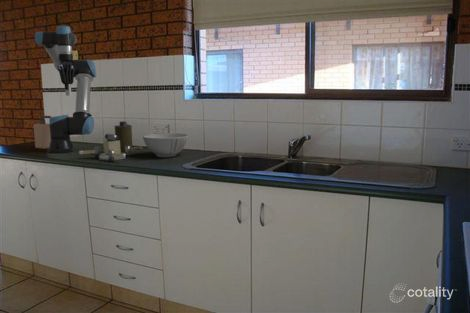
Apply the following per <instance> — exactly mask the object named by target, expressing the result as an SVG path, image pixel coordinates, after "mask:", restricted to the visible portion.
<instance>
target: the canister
mask: <svg viewBox="0 0 470 313" xmlns="http://www.w3.org/2000/svg"><path fill="white" fill-rule="evenodd" d="M132 127H133V125H132V124H131V125H130V124H128V123H127V121H124V120H123V121H119V124H118V125H114V135H117V136H118V140H120V150H121V152H124V153H125V146H126V145H130V148H133V131H132ZM130 153H131V155H133V154H134V151H130Z"/></svg>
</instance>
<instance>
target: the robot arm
mask: <svg viewBox="0 0 470 313" xmlns="http://www.w3.org/2000/svg"><path fill="white" fill-rule="evenodd" d="M34 40H35V44H36V45H38V46H43V47H44V49H45V51H46V53H47V54H48V56H49V57H50V59H51V60H52V62H53V66H54V68H55V69H56V70H57V71H58V72H59V76H60V80H61V83H62V84H63V85H64V90H65V96H67V97H68V96H69V97H72V85H73V84H74V78H75V80H76V93H75V94H76V97H75V111H74V112H73V113H72V116H69V114H63V115H57V116H51V118H48V119H49V120H48V121H49V122H48V124H49V125H50V136H51V141H50V145H49V148H48V153H50V154H63V153H65V154H66V153H71V152H74V151H75V149H74V145H73V143H72V141H71V136H85V135H86V136H87V135H91V134H92V133H93V131H94V127H95V118H94V117H93V116H92V114H91V113H90V108H91V107H90V105H91V104H90V103H91V84H92V82H93V81H94V78H96V77H97V70H96V65H95V62H94V60H92V59H73V58H74V56H73V46H74V45H75V44H76V43H77V40H78V39H77V36H76V35H75V33H73V32H72V30H71V27H70V26H69V25H57V26H56V31H43V30H42V31H36V32H35V34H34Z"/></svg>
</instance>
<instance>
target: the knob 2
mask: <svg viewBox="0 0 470 313" xmlns="http://www.w3.org/2000/svg"><path fill="white" fill-rule="evenodd" d="M143 150H144V148H143V146H142V145H140V146H134V147H133V148H130V145H126V146H125V153H126V157H130V156H132V154H131V153H130V151H133V152H135V151H143Z"/></svg>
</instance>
